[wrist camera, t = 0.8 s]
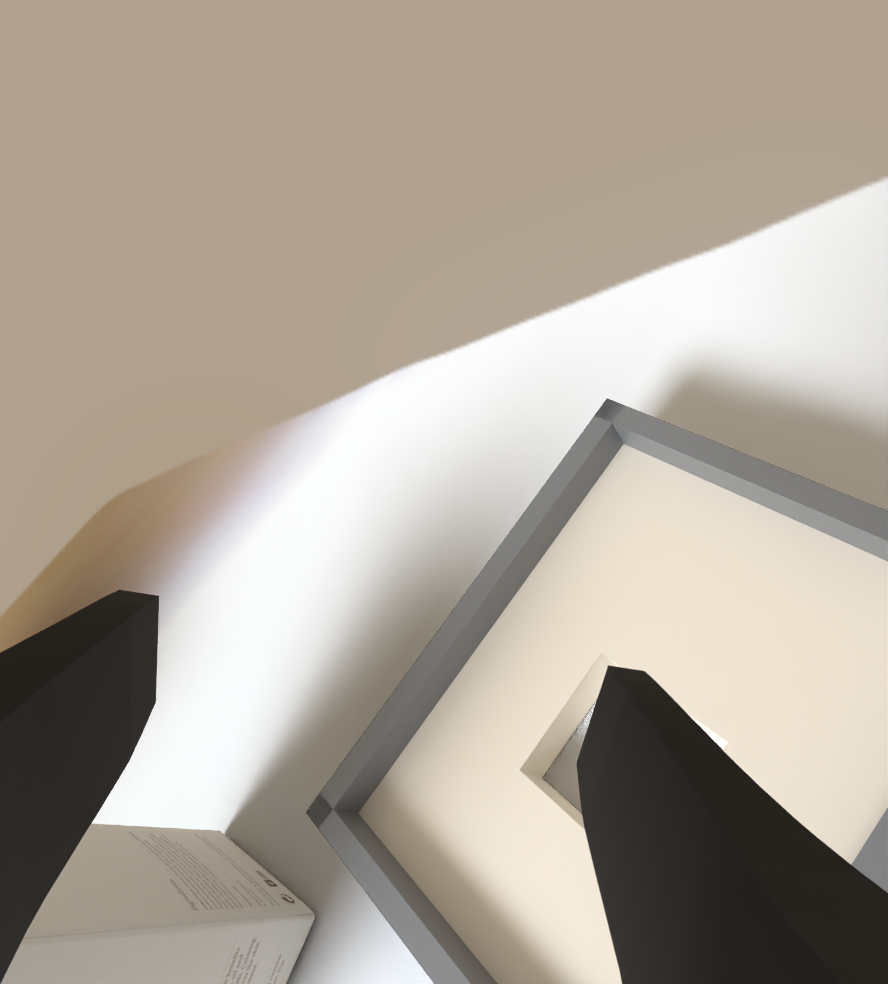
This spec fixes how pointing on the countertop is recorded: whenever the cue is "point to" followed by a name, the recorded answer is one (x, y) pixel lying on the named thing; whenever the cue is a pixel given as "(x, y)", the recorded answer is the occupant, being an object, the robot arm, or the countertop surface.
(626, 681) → the robot arm
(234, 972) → the skincare box
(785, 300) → the countertop surface
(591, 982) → the tray
